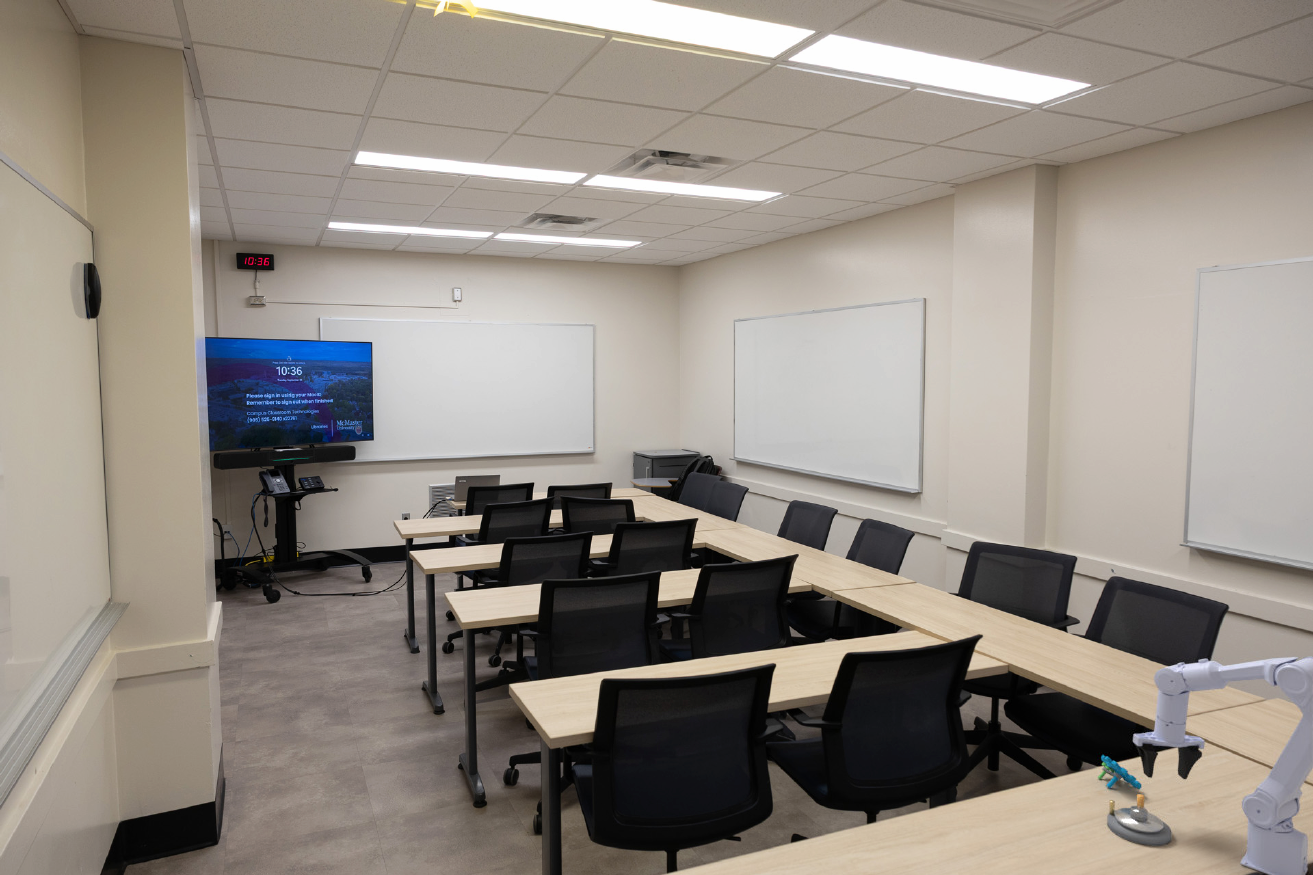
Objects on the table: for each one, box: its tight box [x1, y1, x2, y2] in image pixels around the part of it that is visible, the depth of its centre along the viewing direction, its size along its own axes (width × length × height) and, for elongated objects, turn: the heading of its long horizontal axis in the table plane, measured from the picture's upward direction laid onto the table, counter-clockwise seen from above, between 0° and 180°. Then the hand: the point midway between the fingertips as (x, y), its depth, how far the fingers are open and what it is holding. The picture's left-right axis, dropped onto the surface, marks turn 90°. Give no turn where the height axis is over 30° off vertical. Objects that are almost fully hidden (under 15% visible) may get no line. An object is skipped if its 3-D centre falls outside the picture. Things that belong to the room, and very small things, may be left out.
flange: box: [1115, 793, 1164, 833], centre depth 172 cm, size 11×9×4 cm
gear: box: [1097, 754, 1143, 791], centre depth 191 cm, size 11×6×10 cm
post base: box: [1106, 799, 1172, 847], centre depth 171 cm, size 12×12×4 cm
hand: (1164, 776), depth 176 cm, fingers open, 7 cm apart
